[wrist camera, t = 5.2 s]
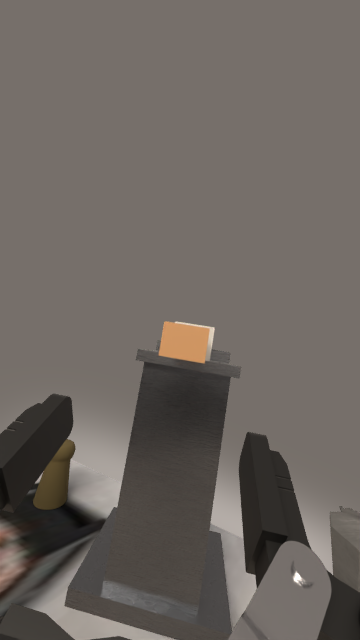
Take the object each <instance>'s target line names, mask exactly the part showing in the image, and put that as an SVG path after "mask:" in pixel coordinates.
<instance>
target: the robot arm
mask: <svg viewBox="0 0 360 640" xmlns="http://www.w3.org/2000/svg"><path fill="white" fill-rule="evenodd" d="M72 427H73V414H72V401H71V398H70V397H68V396H63V395H58V394H52V395H50V396H49V397H48V398H47V399H46V400H45V401H44V402H43V403H42V404H40V403H38V404H36V405H34V406H32V407H30V408H29V409H27V410H25V411H24V412H23V413H22V414H21V415H20V416H19V417H18V418H17V419H16V421H15V422H13V423H12V424H10V425H9V426H8V428H7V430H4V431H3V432H2V433H1V434H0V512H1V511H2V510H5V511H9V512H12V513H13V512H14V511H15V510H16V508H17V507H18V506H19V504H20V503H21V501H22V500H23V499H24V497H25V496H26V494H27V493H28V492H29V490H30V489H31V488H32V486H33V485H34V483H35V482H36V481H37V479H38V478H39V476H40V475H41V474H42V472H43V471H44V470H45V468H46V467H47V465H48V464H49V463H50V461H51V460H52V458H53V457H54V456H55V454H56V453H57V452H58V450H59V449H60V447H61V446H62V445H63V443H64V442H65V440H66V439H67V438H68V436H69V435H70V433H71V430H72ZM239 478H240V494H241V508H242V522H243V536H244V551H245V565H246V572H247V573H251V574H254V575H256V584H257V590H256V592H255V594H254V596H253V597H252V599H251V601H250V603H249V605H248V607H247V608H246V610H245V612H244V613H243V614H242V616H241V617H240V619H239V621H238V623H237V624H236V626H235V628H234V630H233V632H232V633H231V635H230V637H229V639H228V640H360V592H358V591H356V590H355V589H353V588H352V587H350V586H348V585H347V584H345V583H344V582H342V581H340V580H339V579H337V578H336V577H334V576H333V575H332V574H331V573H330V572H328V571H327V570H326V569H325V567H324V565H323V563H322V562H321V560H320V559H319V558H318V556H317V555H316V554H315V553H314V552H313V551H312V550H311V547H310V545H309V543H308V540H307V536H306V532H305V529H304V525H303V522H302V518H301V514H300V511H299V507H298V503H297V500H296V496H295V493H294V489H293V485H292V481H291V478H290V474H289V470H288V466H287V464H286V462H285V461H284V459H283V458H282V456H281V455H280V453H279V452H276V451H271V450H270V449H269V444H268V440H267V437H266V435H260V434H256V433H251V432H248V433H247V434H246V438H245V442H244V445H243V449H242V452H241V456H240V462H239ZM0 640H75V639H73V638H72V637H71V636H70V635H69V634H68V633H66V632H65V631H64V630H63V629H62V628H61V627H60V626H59V625H58V624H57V623H55V622H54V621H53V620H52V619H51V618H50V617H49V616H48V615H47V614H45V613H42V612H39V611H35V610H32V609H29V608H26V607H22V606H19V605H16V604H13V603H12V604H11V605H10V607H9V609H8V611H7V613H6V614H5V616H3V617H0ZM92 640H130V639H127V638H124V637H120V636H117V637H109V638H100V639H92Z"/></svg>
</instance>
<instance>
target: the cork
mask: <svg viewBox="0 0 360 640" xmlns="http://www.w3.org/2000/svg"><path fill="white" fill-rule="evenodd" d="M74 452H75V444H74V442H73V441H71V440H68V439H66V440H65V442H64V443H63V445H62V446H61V447H60V449H59V450H58V452H57V453H56V454H55V456H54V457H53V458H52V460H51V461H50V463H49V464H48V465H47V467H46V468H45V470H44V472H43V474H42V477H41V480H40V483H39V486H38V488H37V491H36V494H35V497H34V499H33V504H34V506H35V507H37V508H39V509H43V510H50V509H55V508H58V507H60V506H62V505H63V504H64V503H65V502H66V500H67V493H68V481H69V469H70V459H71V458H72V456H73V455H74Z"/></svg>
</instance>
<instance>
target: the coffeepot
mask: <svg viewBox="0 0 360 640" xmlns="http://www.w3.org/2000/svg"><path fill="white" fill-rule="evenodd" d="M340 510H341V512H330V527H331V544H332V560H333V576H334V577H336V578H337V579H339V580H340V581H342V582H344V583H345V584H347V585H348V586H350V587H352V588H353V589H355V590H356V591H358V592H360V513H358V512H357V511H354V510H352V509H350V508H345V509H344V508H342V506H340Z"/></svg>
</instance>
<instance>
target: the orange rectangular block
mask: <svg viewBox="0 0 360 640" xmlns="http://www.w3.org/2000/svg"><path fill="white" fill-rule="evenodd" d="M214 329H215V328H214V327H208V326H201V325H195V324H189V323H182V322H175V323H171V322H164V328H163V334H162V339H161V344H160V350H159V356H165V357H170V358H176V359H182V360H188V361H193V362H199V363H205V360H207V361H210V355H211V349H212V342H213V335H214Z"/></svg>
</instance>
